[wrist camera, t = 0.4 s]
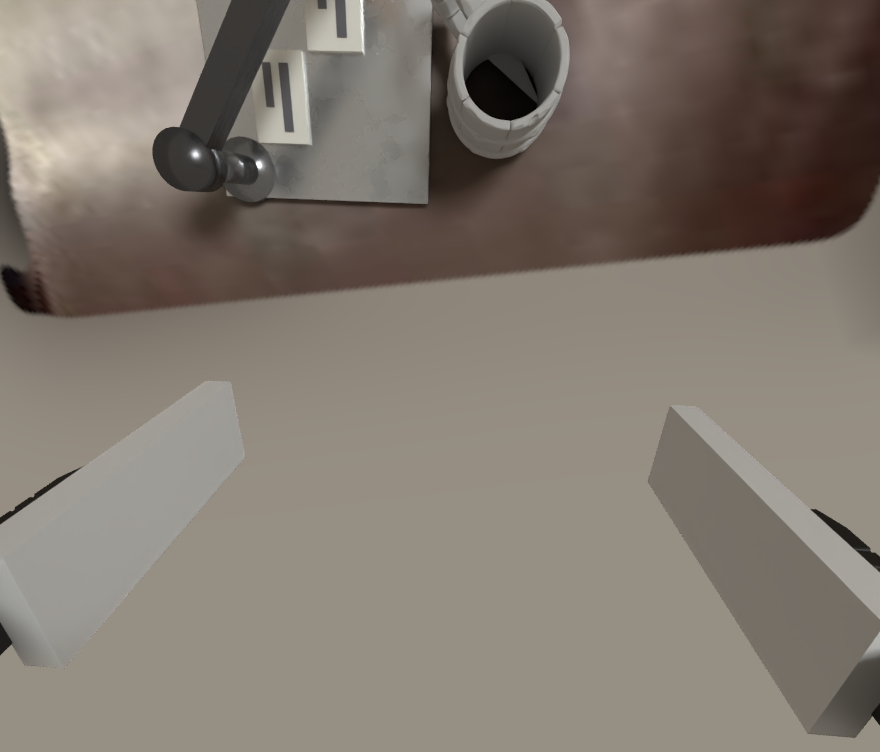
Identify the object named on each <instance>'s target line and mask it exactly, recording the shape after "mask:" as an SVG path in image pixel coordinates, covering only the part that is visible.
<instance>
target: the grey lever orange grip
mask: <svg viewBox="0 0 880 752" xmlns="http://www.w3.org/2000/svg"><path fill="white" fill-rule="evenodd" d="M289 2H290V0H231V2H230V5H229V7H228V10H227V12H226V15H225V17H224V19H223V22H222V24H221V27H220V29H219V32H218V34H217V37H216V39H215V42H214V44H213V46H212V49H211V51H210V54H209V56H208V59H207V61H206V64H205V66H204V68H203V71H202V73H201V76H200V78H199V81H198V83H197V86H196V88H195V90H194V93H193V95H192V98H191V100H190V103H189V105H188V108H187V110H186V113H185V115H184V117H183V120H182V122H181V125H180V127H169V128H166V129H164V130H162V131H161V132H160V133H159V134H158V135H157V137H156V138H155V140H154V144H153V159H154V163H155V166H156V168H157V170H158V172H159V173H160V175H161V176H162V178H163V179H164V180H165V181H166V182H167V183H168V184H170V185H171V186H173V187H174V188H176V189H179V190H182V191H195V192H213V191H216V190H218V189H219V188H220V187H221V186H222V185H223V184H224V182H225V181H226V178H227V174H228V164H227V160H226V157H225V154H224V152H223V150H222V149H223V147H224V145H225V142H226V140H227V138H228V136H229V134H230V131H231V129H232V127H233V125H234V123H235V120H236V118H237V116H238V114H239V112H240V109H241V107H242V105H243V103H244V101H245V99H246V96H247V94H248V92H249V90H250V88H251V85H252V83H253V81H254V79H255V77H256V74H257V72H258V70H259V68H260V66H261V63H262V61H263V59H264V57H265V55H266V53H267V50H268V48H269V46H270V44H271V42H272V39H273V37H274V35H275V33H276V31H277V28H278V26H279V24H280V22H281V20H282V17H283V15H284V13H285V11H286V9H287V7H288V4H289Z"/></svg>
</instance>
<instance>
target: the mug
mask: <svg viewBox="0 0 880 752" xmlns="http://www.w3.org/2000/svg"><path fill="white" fill-rule="evenodd" d="M431 3H432V6H433V8H434V9H435V11H436V12H437V14H438V15H439V16H440V17H441V19H442V21H443V23H444V25H445V26H446V27H447V28H448V29H449V30H450V31H451V33H452V34H453V35H454V36H455V38H456V39H457V45H456V47H455V50H454V52H453V55H452V59H451V63H450V69H449V78H448V81H447V90H448V96H447V107H448V112H449V117H450V121H451V124H452V127H453V129H454V131H455V133H456V135H457V136H458V138H459V139H460V141H461V142H462V143H463V144H464V145H465V146H466V147H467V148H468V149H470V150H471V152H473V153H474V154H478V155H480V156H483V157H486V158H491V159H502V158H507V157H511V156H514V155H516V154H518V153H519V152H523V151H525V150H526V149H527V148H528V146H530V145H531V144H532V143H533V142H534V141H535V140H536V139H537V137H538V136H539V135H540V133H541V132H542V130H543V128H544V127H545V125H546V123H547V121H548V120H549V118H550V117H551V115H552V114H553V112H554V110H555V108H556V106H557V104H558V102H559V100H560V97H561V94H562V90H563V87H564V84H565V81H566V77H567V73H568V68H569V58H570V50H569V41H568V36H567V34H566V32H565V30H564V28H563V27H561V23H562V19H561V17H560V16H559V14H558V13H557V11H556V10H555V9H554V7H553V6H552V5H551V4H550V3H549V2H547V1H546V0H431ZM488 59H489V60H490V61H491V62H492V63H493V64H494V65H495V66H496V67H497V68H498V69H500V70H501V71H502V72H503V73H504V74H505V75H506V76H507V77H508V78H509V79H511V80H512V81H513V82H514V83H515V84H516V85H517V86H518V87H519V88H520V89H522V90H523V91H524V92H525V93H526V94H527V95H528V96H529V97H530V98H532V99H533V100H534V101H535V102H536V103H537V109H536V110H534V111H533V112H531V113H530V114H528V115H527V116H524V117H522V118H519V119H515V120H512V121H508V120H500V119H496V118H493V117H491V116H489V115H487V114H485V113H484V112H482V111H481V110H480V109H479V108H478V107H477V106H476V105H475V104H474V102H473V101H472V99H471V98H470V97H469V94H468V92H467V89H466V86H465V82H466V80H467V78H468V76H469V75H470V73H471V72H472V71H473V70H474V69H475V68H476V67H477V66H478V65H479V64H481V63H482V62H484V61H486V60H488ZM524 67H525V68H526V69H527V70H528V71H529V73H530V75H531V76H532V77H533V81H534V83H535V86H536V90H537V95H536V93H535V91H534V88H533V86H532V84H531V82H530V79H529V77H528V75H527V72H526V70H525V68H524Z"/></svg>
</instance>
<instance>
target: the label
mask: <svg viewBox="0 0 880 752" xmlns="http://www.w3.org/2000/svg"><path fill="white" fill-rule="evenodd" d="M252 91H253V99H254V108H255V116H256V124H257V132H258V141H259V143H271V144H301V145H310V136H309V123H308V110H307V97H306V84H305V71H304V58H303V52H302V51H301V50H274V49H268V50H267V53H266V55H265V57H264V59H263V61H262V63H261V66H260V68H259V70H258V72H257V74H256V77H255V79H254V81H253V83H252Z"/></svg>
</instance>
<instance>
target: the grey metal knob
mask: <svg viewBox="0 0 880 752" xmlns="http://www.w3.org/2000/svg"><path fill="white" fill-rule="evenodd" d="M222 150H223V152H224V154H225V157H226V160H227V164H228V174H227V178H226V181H225V182H224V184H223V186H224V187H225V189H226V190H227V191H228V192H229V193H230V194H231V195H232V196H234V197H235V198H237V199H239V200H241V201H245V202H262V201H265V200H267V199H269V198H266V197H267V196H268V195H269V194H270V192H271V191H272V189H273V186H274V183H275V168H274V164H273V161H272V159H271V157H270V155H269V153H268V152H267V151H266V149H265V148H264V147H263V146H262V145H261V144H259V143H258V142H257V141H255V140H253V139H250V138H247V137H241V136H239V137H233V138H230V139H229V140H227V141H226V142H225V145H224V147H223V149H222Z"/></svg>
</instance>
